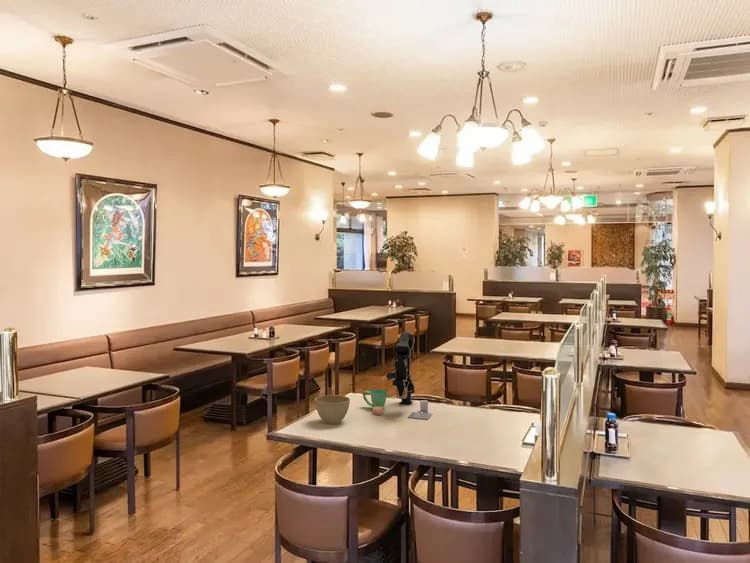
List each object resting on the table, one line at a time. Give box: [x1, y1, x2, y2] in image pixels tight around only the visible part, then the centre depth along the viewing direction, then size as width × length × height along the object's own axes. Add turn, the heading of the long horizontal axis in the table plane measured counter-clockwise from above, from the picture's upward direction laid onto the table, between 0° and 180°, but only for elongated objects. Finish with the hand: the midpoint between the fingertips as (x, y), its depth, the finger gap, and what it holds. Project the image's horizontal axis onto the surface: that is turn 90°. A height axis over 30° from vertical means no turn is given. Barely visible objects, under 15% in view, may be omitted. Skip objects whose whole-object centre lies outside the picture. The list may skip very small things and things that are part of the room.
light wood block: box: [419, 399, 429, 413], centre depth 317 cm, size 4×4×6 cm
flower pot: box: [314, 394, 351, 425], centre depth 295 cm, size 18×18×12 cm
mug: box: [362, 389, 388, 408], centre depth 323 cm, size 15×10×10 cm
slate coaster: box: [407, 411, 433, 421], centre depth 307 cm, size 11×11×1 cm
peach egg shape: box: [372, 406, 385, 416], centre depth 312 cm, size 6×6×4 cm
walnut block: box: [395, 387, 407, 399], centre depth 313 cm, size 5×5×5 cm
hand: (401, 395), depth 313 cm, fingers closed on walnut block, 5 cm apart
